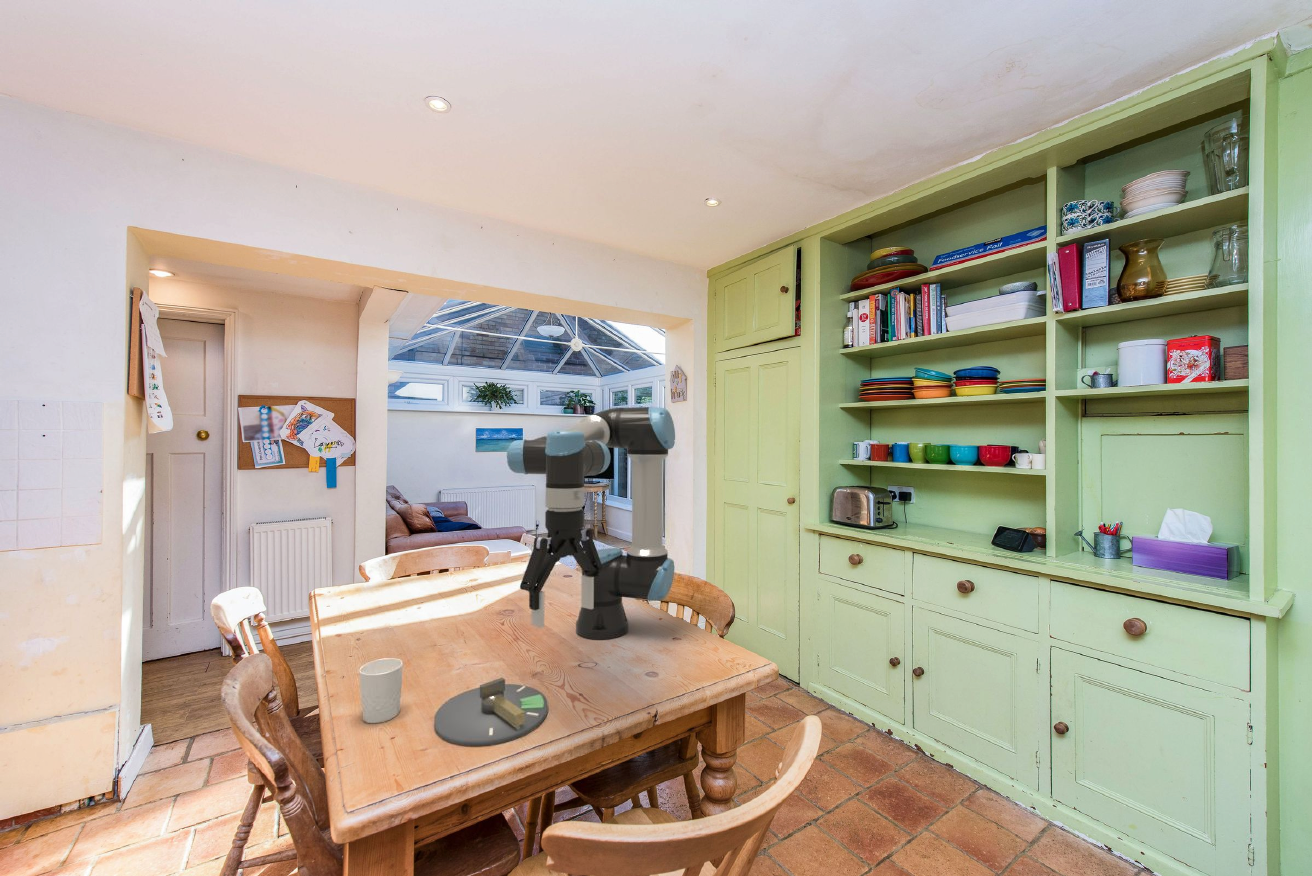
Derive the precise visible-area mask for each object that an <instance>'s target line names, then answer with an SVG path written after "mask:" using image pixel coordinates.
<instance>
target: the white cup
mask: <svg viewBox="0 0 1312 876" xmlns="http://www.w3.org/2000/svg"><path fill="white" fill-rule="evenodd" d="M358 671H359V672H358V673H359V690H360V691H359V692H360V703H361V704H360V705H361V709H362V710H361V711H362V721H364V722H365V723H367V724H378V723H379V724H380V723H384V722H388V721H390V720H392V719H394V718H395V717H397V716H398V714H399V713H400V712H401V696H402V686H403V685H402V684H403V661H402V660H401V659H399V658H395V657H394V658H392V657H391V658H390V657H387V658H386V657H385V658H380V659H375V660H372V661H369V662H367V663H365V664H363V665H362V666H361V667H359V670H358Z"/></svg>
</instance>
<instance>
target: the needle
mask: <svg viewBox="0 0 1312 876" xmlns="http://www.w3.org/2000/svg"><path fill="white" fill-rule="evenodd" d="M505 684H506V679H505V678H504V677H500V678H497V679H494V680H491V681H488V682H485V683H483V684H480V685H479V687H480V698H481V711H482V712H484V713H497V714H498V715H499V716H501V717H502V718H503V719H505V720H506V721H508V722H509V723H510V724H512V725H513V726H514V727H517V726H519V725H521V724H524V723H525V712H524V711H523V710H521V709H520V708H518V707H517V706H515V705H514V704H513V703H511V702H510V701H508V700H507V699H505V698H504V691H505Z"/></svg>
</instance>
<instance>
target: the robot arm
mask: <svg viewBox="0 0 1312 876" xmlns="http://www.w3.org/2000/svg"><path fill="white" fill-rule="evenodd" d="M675 440H676V430H675V424H674V419H673V417H672V415H671V413H670V411H669V410H668V409H667V408H665V407H656V406H641V407H640V406H639V407H614V408H613V407H612V408H608V409H605V410H603V411H602V410H600V411H598V412H595V413H592V414H589V415H586V416H585V417H584V418H582V420H580V422H579V423H576V424H573V425H571V426H567V427H566V428H562V429H560V430H551V431H549V432H548V433H547V435H543V436H541V437H537V438H533V439H531V440H530V439H518V440H514V441H512V442H511V443H510V444H509V445H508V447H507V452H506V460H507V461H506V463H507V466H508V468H509V470H511V472H513V473H516V474H524V475H545V501H544V502H545V504H544V505H545V508H547V509H546V511H545V513H544V515H545V519H544V521H545V523H544V526H545V529H546V531H547V536H546V537H539V536H535V538H534V541H533V549H532V552H531V554H530V557H529V560H528V562H527V566H526V568H525V571H524V573H523V577H522V580H521V583H520V585H519V589H520V590H523V591H526V592H528V597H529V599H528V601H529V602H528V603H529V604H528V607H529V610H531V611H530V613H531V615H530V617H531V618H530V619H531V623H530V624H531V626H534V627H537V628H541V629H542V628H544V627H545V600H546V599H545V591H543V588H544V586H545V584H546V582H547V580H548V579H549V576H551V573H552V571H553V569H554V568H555V566H556V564H557V562H559V561H560V560H561V559H562V558H566V557H568V556H570V557H573V559H574V560H575V562H576V563H577V564H578V566H579V567H580V571H581V599H580V601H581V606H580V610H579V613H578V618H577V620H576V622H575V633H576V634H577V635H578V636H579V637H582V638H586V639H589V640H609V639H616V638H619V637H621V636H624V635H625V634H626V633H628V631H629V621H628V618H627V613H626V612H625V611H626V610H625V608H624V605H623V598H627V599H629V598H630V599H639V600H645V601H663V600H665V599H666V598H667V596H668V595H669V594H670V590H671V588H672V585H673V581H674V576H675V562H674V559H672V558H669V557H668V556H669V555H668V550H667V549H666V548H665V547H664V546H663V489H664V488H663V476H664V474H663V471H664V467H663V462H664V460H665V459H666V458H667V457H669V450H672V449H673V448H674V446H675V444H676V442H675ZM609 448H615V449H626V455H627V456H628V457H629V459H630V460H631V461H632V463H631V465H632V468H631V469H632V471H631V472H632V473H631V474H632V479H631V480H632V481H631V482H632V484H631V485H632V486H631V487H632V489H631V490H632V491H631V493H632V497H631V499H632V500H631V503H632V506H631V511H632V512H631V546H630V547H629V548H628V549H627V550H626V554H625V555H624V552H623V549H622V548H617V547H611V548H603V549H597V547H596V544H595V541H594V537H593V530H592V529H590V528H584V526H585V511H584V510H583V509H582V508H583V507H584V505H585V504H584V503H585V501H584V499H585V497H584V496H585V495H584V494H585V477H587V476H593V477H594V476H597V475H598V474H601V473H604V472H605V471H606V470H607V469H608V467H609V465H610V463H611V457H612V456H611V453H610V449H609Z"/></svg>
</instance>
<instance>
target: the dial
mask: <svg viewBox="0 0 1312 876" xmlns="http://www.w3.org/2000/svg"><path fill="white" fill-rule="evenodd" d="M504 698H505V699H507V700H508V701H510V702H511V703H513V704H514V705H515V706H517V707H518V708H520V709H521V710H523V711H524V712H525V723H524V724H521V725H519V726H517V727H514V726H513V725H512V724H510V723H509V722H508V721H506V720H505V719H503V718H502V717H501V716H499V715H498V714H497V713H484V712H482V711H481V698H480V686H479V687H475V688H472V689H468V690H466V691H464V692H461V693H458V694H457V695H454V696H453V697H451V698H449V699H448V700H447V701H445V702H444V703H443V704H441V706H440V707H438V709H437V710H436V712H435V715H434V720H433V727H434V731H435V733H436V735H437V736H438V738H441V739H442V740H443V741H445V742H448V743H450V744H453V745H457V746H462V747H463V746H464V747H488V746H494V745H495V746H496V745H499V744H503V743H504V744H505V743H507V742H511V741H514V740H516V739H519V738H521V737H523V736H526V735H528V734H529V733H531V732H533V731H534V730H535V729H537V728H538V727H539V726H540V725H541V724H542V723H543V721H544V720H546V717H547V715H548V700H547V698H546V696H545V694H544V693H542V692H541V691H540V690H537V689H536V688H534V687H531V686H526V685H522V684H514V683H505V691H504Z"/></svg>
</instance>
